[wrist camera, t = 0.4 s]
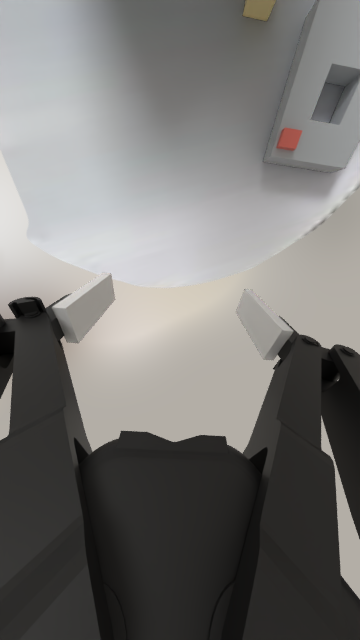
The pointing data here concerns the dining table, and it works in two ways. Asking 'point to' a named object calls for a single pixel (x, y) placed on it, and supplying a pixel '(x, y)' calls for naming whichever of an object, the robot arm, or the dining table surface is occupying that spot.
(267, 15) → the plug
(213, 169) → the dining table surface
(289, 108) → the socket plate
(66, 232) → the dining table surface
